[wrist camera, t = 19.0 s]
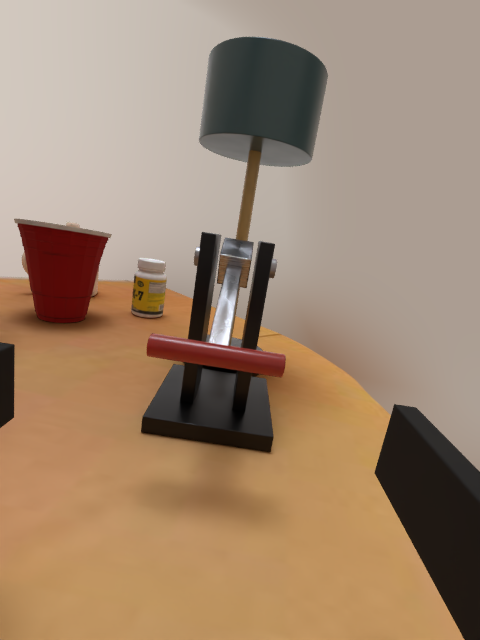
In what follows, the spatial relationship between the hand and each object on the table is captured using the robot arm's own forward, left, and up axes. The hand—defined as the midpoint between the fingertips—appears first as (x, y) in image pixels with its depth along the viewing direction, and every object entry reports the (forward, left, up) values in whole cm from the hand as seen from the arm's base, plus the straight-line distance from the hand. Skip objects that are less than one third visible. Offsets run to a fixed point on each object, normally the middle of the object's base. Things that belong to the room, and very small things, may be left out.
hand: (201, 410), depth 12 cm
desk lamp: (0, +26, -8) cm, 27 cm away
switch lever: (0, +11, +1) cm, 12 cm away
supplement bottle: (-13, +41, -8) cm, 44 cm away
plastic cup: (-22, +33, -8) cm, 41 cm away
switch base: (0, +15, -8) cm, 17 cm away
